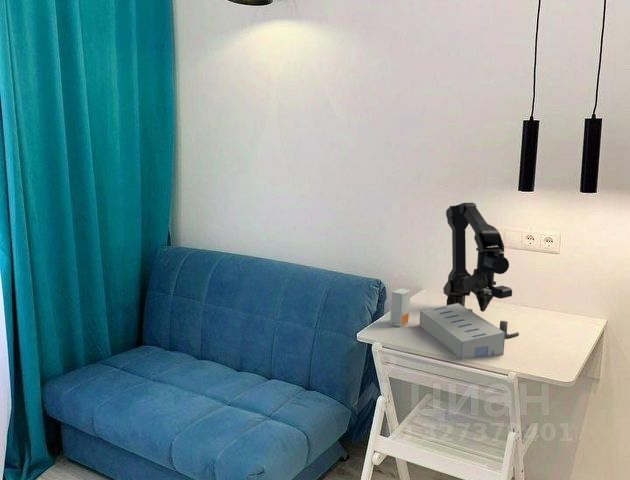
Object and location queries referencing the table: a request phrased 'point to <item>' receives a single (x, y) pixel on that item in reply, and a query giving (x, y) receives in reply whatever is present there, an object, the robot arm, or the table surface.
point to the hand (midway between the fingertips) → (482, 311)
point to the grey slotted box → (463, 331)
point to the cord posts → (504, 328)
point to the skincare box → (400, 307)
